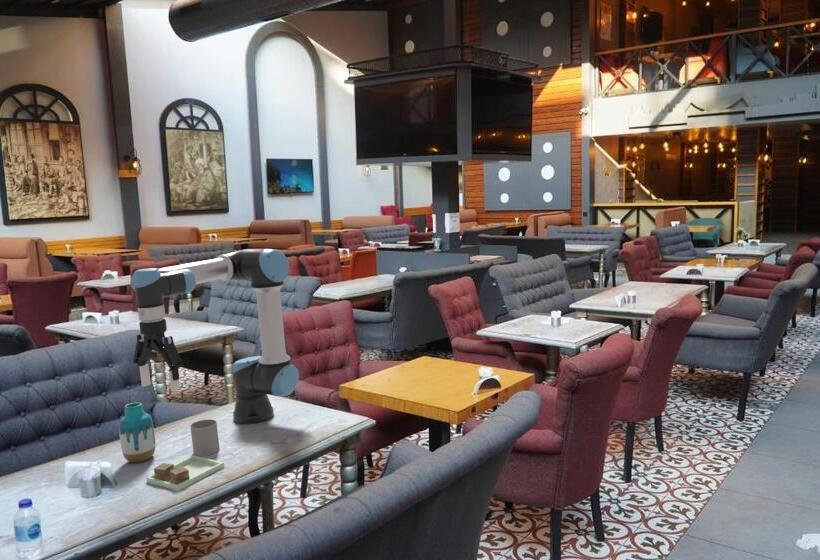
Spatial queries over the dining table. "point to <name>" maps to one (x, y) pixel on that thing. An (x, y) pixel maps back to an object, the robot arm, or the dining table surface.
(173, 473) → the block
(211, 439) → the cup
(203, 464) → the tray
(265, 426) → the dining table surface
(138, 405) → the vase
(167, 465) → the block
